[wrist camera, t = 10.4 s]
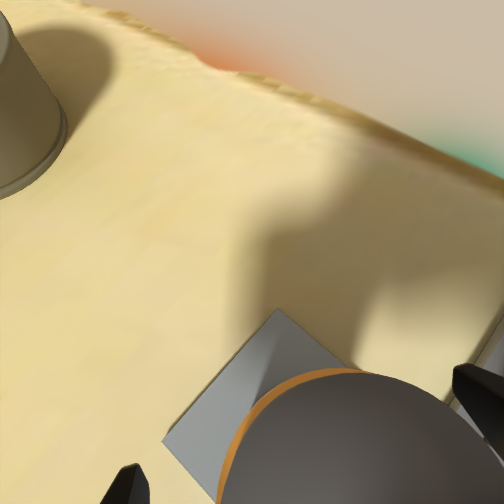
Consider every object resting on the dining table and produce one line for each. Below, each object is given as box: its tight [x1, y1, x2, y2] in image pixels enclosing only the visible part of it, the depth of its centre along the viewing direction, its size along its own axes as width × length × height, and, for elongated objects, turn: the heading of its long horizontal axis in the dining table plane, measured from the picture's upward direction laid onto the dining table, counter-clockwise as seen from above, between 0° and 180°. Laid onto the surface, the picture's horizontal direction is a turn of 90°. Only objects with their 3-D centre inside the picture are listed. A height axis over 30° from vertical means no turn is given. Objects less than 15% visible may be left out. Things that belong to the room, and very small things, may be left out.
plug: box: [216, 368, 504, 504], centre depth 11 cm, size 5×5×13 cm
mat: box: [161, 309, 347, 503], centre depth 17 cm, size 9×9×1 cm
